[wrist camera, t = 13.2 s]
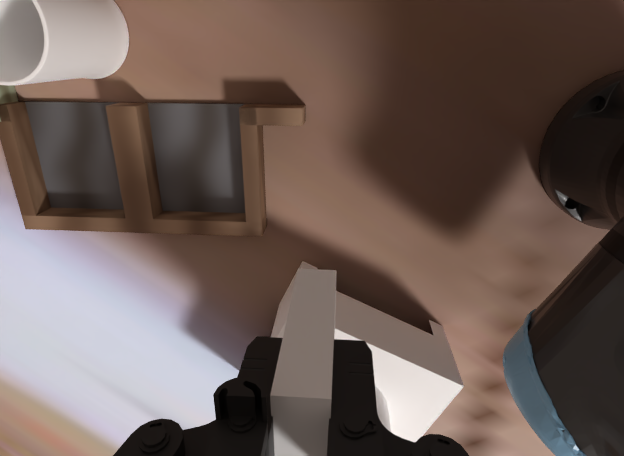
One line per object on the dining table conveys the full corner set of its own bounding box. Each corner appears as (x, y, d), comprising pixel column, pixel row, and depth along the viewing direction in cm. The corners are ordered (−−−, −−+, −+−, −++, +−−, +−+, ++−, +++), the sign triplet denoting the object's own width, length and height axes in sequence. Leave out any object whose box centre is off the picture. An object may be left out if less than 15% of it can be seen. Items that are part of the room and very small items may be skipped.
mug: (47, -72, 38) (-74, -120, 27) (139, -41, 39) (57, -76, 28) (41, 63, 43) (-65, 68, 32) (124, 90, 43) (48, 104, 32)
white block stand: (242, 372, 56) (143, 682, 29) (302, 260, 49) (247, 529, 22) (367, 426, 58) (387, 763, 31) (442, 326, 51) (555, 647, 24)
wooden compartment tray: (304, -114, 36) (297, -143, 30) (305, 226, 48) (300, 250, 42) (-52, -106, 38) (-120, -132, 32) (35, 218, 50) (-4, 239, 44)
